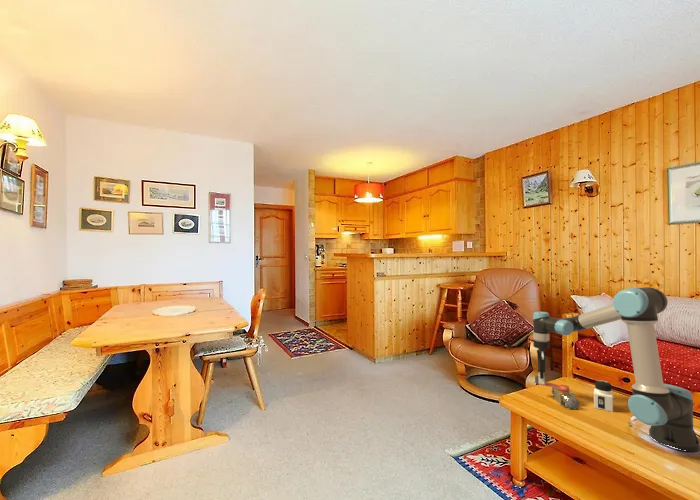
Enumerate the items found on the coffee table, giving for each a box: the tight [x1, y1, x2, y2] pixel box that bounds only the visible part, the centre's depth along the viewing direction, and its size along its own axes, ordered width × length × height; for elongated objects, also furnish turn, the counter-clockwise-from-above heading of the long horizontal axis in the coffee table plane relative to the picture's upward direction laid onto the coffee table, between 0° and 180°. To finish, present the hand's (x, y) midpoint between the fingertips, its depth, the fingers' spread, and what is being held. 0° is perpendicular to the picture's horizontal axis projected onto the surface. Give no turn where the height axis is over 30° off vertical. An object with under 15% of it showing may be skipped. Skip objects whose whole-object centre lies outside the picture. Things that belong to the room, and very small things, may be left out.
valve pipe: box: [551, 387, 580, 411], centre depth 175 cm, size 16×7×6 cm, turn 171°
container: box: [593, 380, 614, 413], centre depth 170 cm, size 8×8×13 cm
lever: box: [534, 374, 570, 391], centre depth 179 cm, size 16×4×4 cm, turn 50°
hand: (541, 383), depth 180 cm, fingers closed
